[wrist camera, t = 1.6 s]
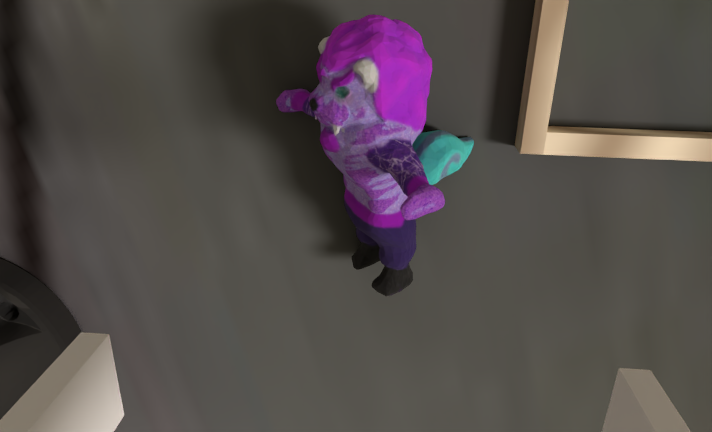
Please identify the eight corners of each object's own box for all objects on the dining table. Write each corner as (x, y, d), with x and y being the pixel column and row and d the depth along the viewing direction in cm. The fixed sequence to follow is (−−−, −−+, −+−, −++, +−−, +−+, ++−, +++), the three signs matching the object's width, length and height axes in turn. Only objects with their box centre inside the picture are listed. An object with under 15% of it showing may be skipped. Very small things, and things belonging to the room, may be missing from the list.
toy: (282, 240, 34) (245, -3, 25) (405, 191, 38) (412, -35, 29) (388, 372, 26) (391, 84, 17) (530, 293, 30) (595, 24, 21)
